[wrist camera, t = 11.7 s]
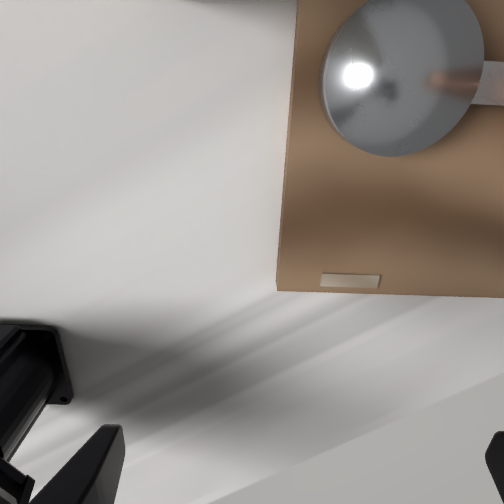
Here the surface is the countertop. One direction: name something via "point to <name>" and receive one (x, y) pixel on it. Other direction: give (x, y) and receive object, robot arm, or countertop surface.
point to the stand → (390, 189)
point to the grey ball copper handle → (405, 74)
